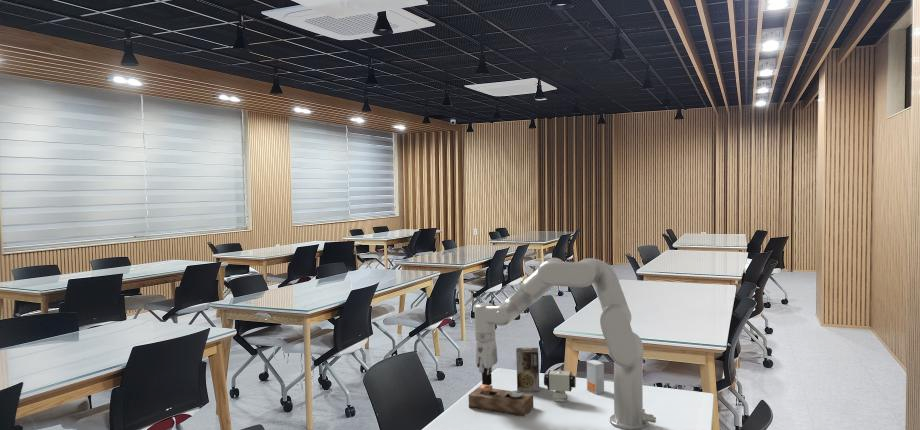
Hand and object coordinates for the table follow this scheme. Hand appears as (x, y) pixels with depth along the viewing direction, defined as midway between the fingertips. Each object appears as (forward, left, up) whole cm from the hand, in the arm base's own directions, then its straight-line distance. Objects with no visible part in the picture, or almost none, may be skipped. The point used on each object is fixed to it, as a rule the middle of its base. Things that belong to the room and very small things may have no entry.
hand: (487, 384), depth 228 cm
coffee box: (-8, -24, -8) cm, 27 cm away
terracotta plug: (0, 0, -6) cm, 6 cm away
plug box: (-6, 0, -8) cm, 10 cm away
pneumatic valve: (-24, -16, -8) cm, 30 cm away
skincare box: (-34, -31, -8) cm, 47 cm away
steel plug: (-12, 0, -7) cm, 14 cm away
